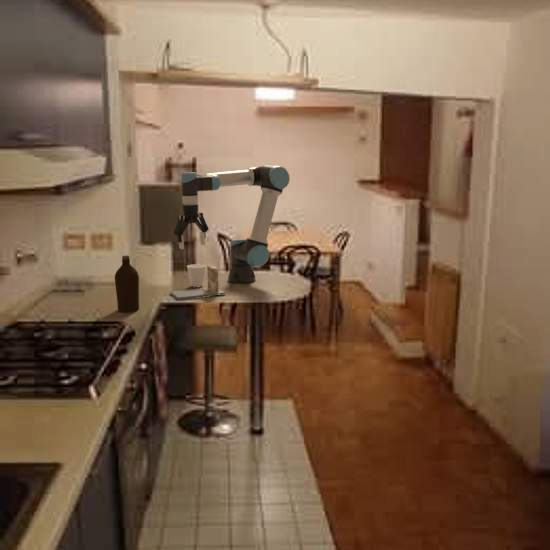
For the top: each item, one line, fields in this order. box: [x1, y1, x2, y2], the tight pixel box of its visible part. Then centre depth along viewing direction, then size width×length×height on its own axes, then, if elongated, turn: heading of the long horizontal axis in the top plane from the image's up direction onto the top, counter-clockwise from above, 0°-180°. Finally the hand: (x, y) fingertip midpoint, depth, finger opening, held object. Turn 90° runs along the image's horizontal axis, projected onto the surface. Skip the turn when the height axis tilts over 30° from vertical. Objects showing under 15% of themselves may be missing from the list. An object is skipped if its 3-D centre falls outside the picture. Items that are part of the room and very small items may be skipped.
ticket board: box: [169, 287, 210, 301], centre depth 309 cm, size 16×14×2 cm
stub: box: [201, 265, 226, 297], centre depth 312 cm, size 8×14×13 cm, turn 24°
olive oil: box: [114, 255, 140, 313], centre depth 280 cm, size 11×11×25 cm
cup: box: [186, 263, 207, 288], centre depth 327 cm, size 10×10×11 cm
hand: (192, 246), depth 308 cm, fingers open, 13 cm apart
